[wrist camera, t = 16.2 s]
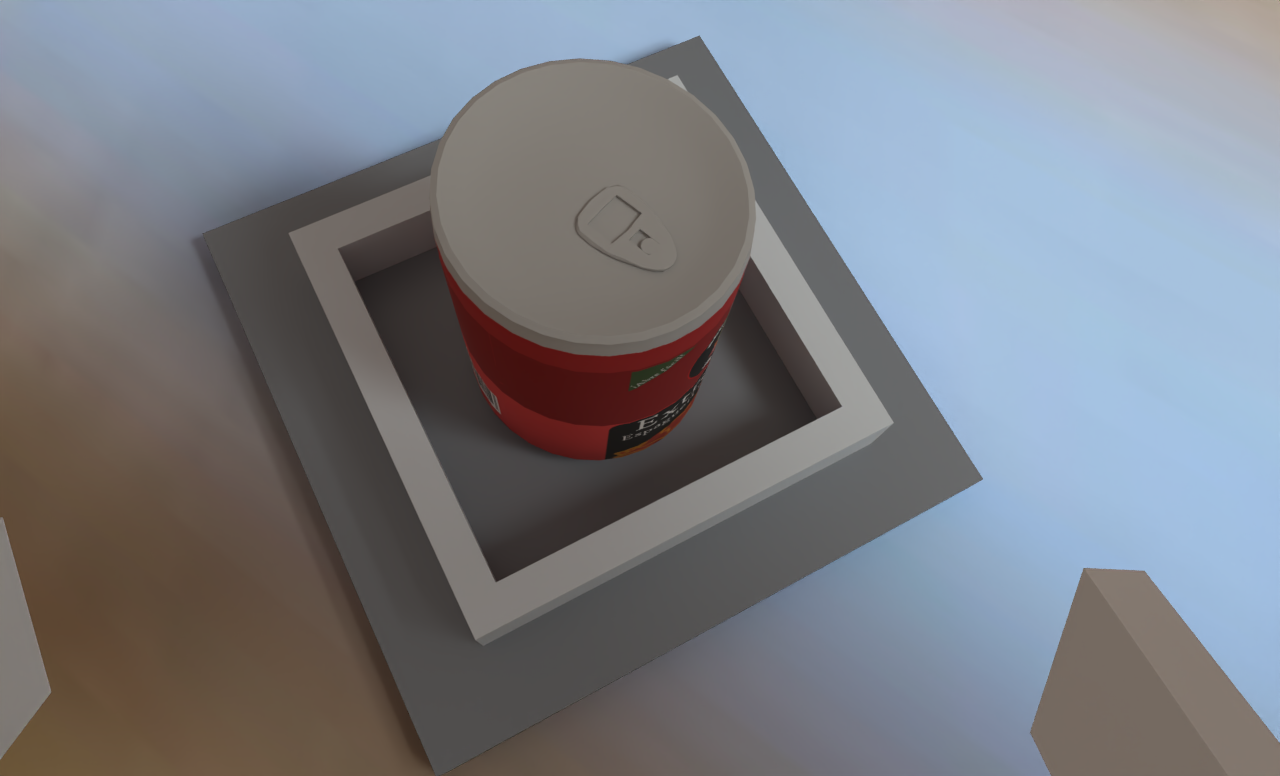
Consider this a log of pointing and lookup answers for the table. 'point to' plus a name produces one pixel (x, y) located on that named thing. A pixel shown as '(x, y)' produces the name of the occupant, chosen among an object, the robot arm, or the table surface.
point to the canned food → (590, 249)
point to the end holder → (560, 486)
